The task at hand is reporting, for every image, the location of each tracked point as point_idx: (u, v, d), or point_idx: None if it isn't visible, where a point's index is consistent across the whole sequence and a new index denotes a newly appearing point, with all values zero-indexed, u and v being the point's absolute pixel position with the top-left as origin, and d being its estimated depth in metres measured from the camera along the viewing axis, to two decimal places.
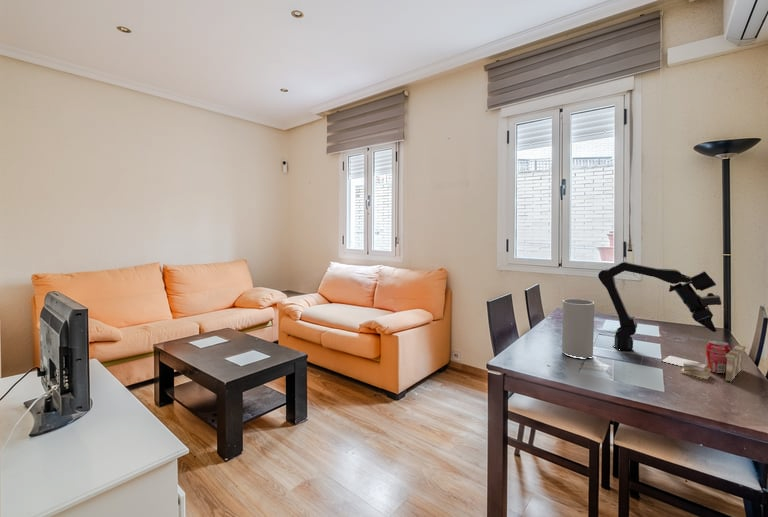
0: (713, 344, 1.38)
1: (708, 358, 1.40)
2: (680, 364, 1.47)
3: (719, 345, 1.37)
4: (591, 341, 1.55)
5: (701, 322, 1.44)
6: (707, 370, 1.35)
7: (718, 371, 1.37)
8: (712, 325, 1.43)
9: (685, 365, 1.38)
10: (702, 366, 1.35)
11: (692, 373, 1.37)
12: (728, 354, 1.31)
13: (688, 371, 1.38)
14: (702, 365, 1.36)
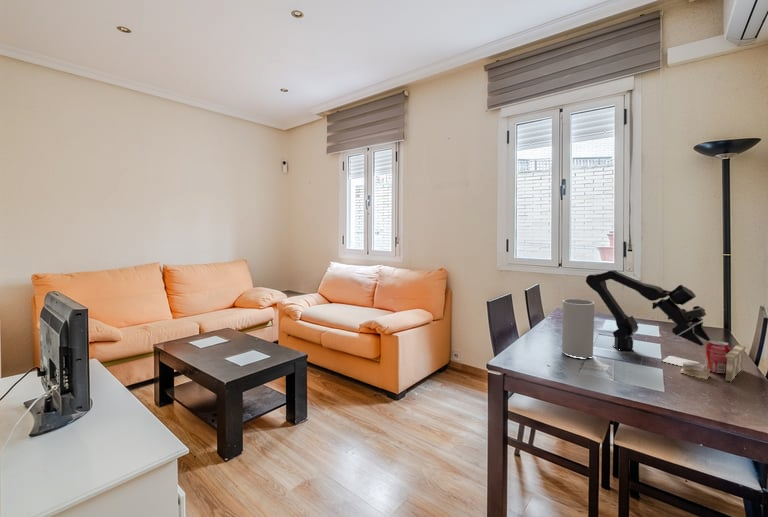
0: (713, 344, 1.38)
1: (708, 358, 1.40)
2: (680, 364, 1.47)
3: (719, 345, 1.37)
4: (591, 341, 1.55)
5: (684, 336, 1.43)
6: (706, 370, 1.35)
7: (718, 371, 1.37)
8: (696, 338, 1.40)
9: (684, 365, 1.38)
10: (701, 366, 1.35)
11: (691, 373, 1.36)
12: (728, 354, 1.31)
13: (687, 371, 1.38)
14: (701, 365, 1.36)
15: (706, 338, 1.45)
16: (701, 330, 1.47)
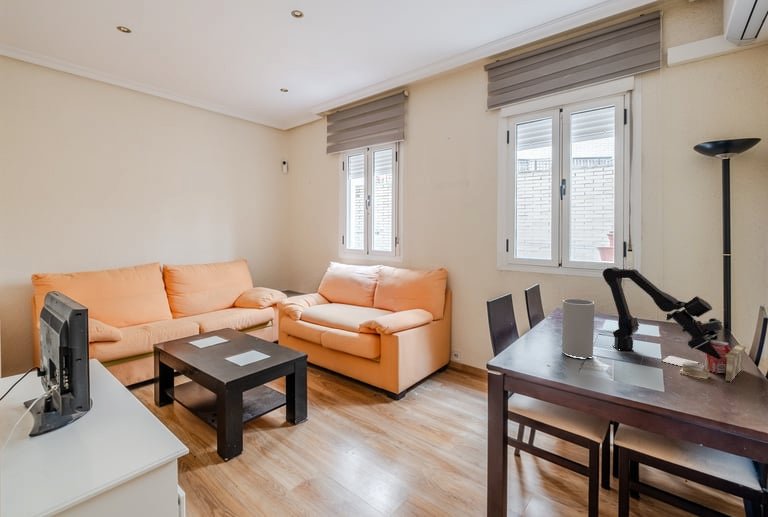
0: (713, 344, 1.38)
1: (708, 358, 1.40)
2: (680, 364, 1.47)
3: (719, 345, 1.37)
4: (591, 341, 1.55)
5: (701, 349, 1.39)
6: (706, 370, 1.35)
7: (718, 371, 1.37)
8: (714, 352, 1.37)
9: (684, 365, 1.38)
10: (701, 366, 1.35)
11: (691, 373, 1.36)
12: (728, 354, 1.31)
13: (687, 371, 1.37)
14: (701, 365, 1.36)
15: None
16: None
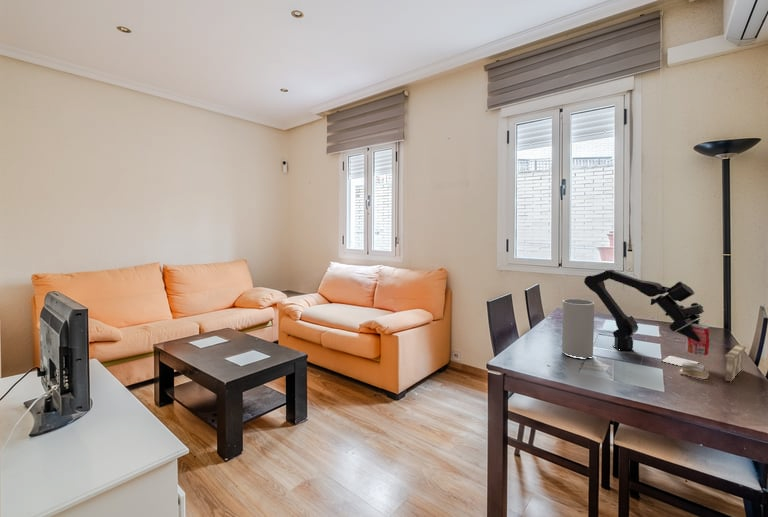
0: (694, 327, 1.43)
1: (688, 341, 1.44)
2: (680, 364, 1.47)
3: (699, 328, 1.41)
4: (591, 341, 1.55)
5: (682, 332, 1.44)
6: (705, 370, 1.35)
7: (698, 353, 1.42)
8: (694, 335, 1.41)
9: (684, 366, 1.38)
10: (701, 367, 1.35)
11: (691, 374, 1.36)
12: (728, 354, 1.31)
13: (687, 372, 1.37)
14: (700, 366, 1.36)
15: None
16: None
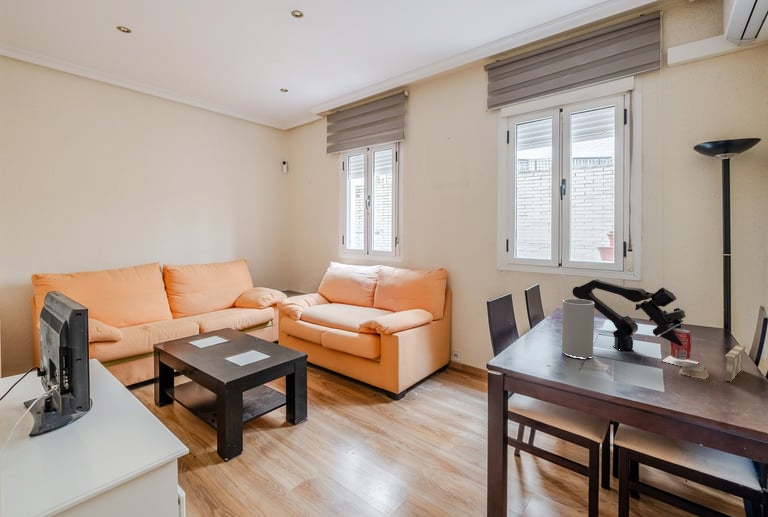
0: (676, 332, 1.48)
1: (671, 345, 1.49)
2: (680, 364, 1.47)
3: (681, 333, 1.46)
4: (591, 341, 1.55)
5: (665, 337, 1.49)
6: (705, 370, 1.35)
7: (680, 357, 1.47)
8: (676, 339, 1.46)
9: (683, 366, 1.37)
10: (700, 367, 1.35)
11: (690, 374, 1.36)
12: (728, 354, 1.31)
13: (686, 372, 1.37)
14: (700, 366, 1.36)
15: None
16: None
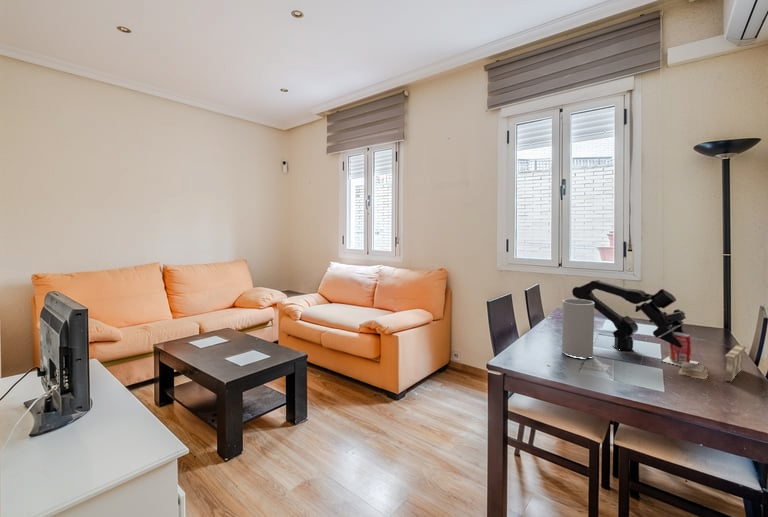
0: (675, 336, 1.48)
1: (671, 348, 1.50)
2: (680, 364, 1.47)
3: (681, 336, 1.47)
4: (591, 341, 1.55)
5: (665, 339, 1.48)
6: (705, 371, 1.34)
7: (680, 361, 1.47)
8: (676, 341, 1.46)
9: (683, 366, 1.37)
10: (700, 367, 1.34)
11: (690, 374, 1.36)
12: (728, 354, 1.31)
13: (686, 372, 1.37)
14: (699, 366, 1.35)
15: None
16: None
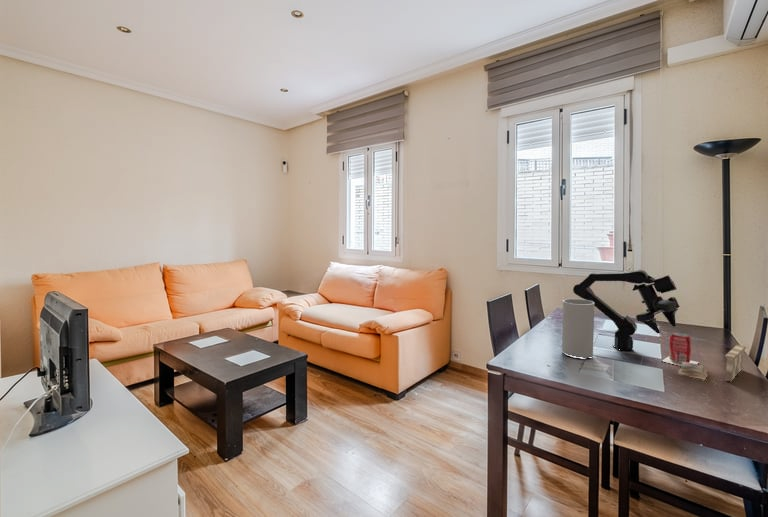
0: (675, 336, 1.48)
1: (671, 348, 1.50)
2: (680, 364, 1.47)
3: (680, 337, 1.47)
4: (591, 341, 1.55)
5: (646, 323, 1.57)
6: (704, 371, 1.34)
7: (680, 361, 1.47)
8: (655, 327, 1.54)
9: (683, 366, 1.37)
10: (700, 367, 1.34)
11: (690, 374, 1.36)
12: (728, 354, 1.31)
13: (686, 372, 1.37)
14: (699, 366, 1.35)
15: (672, 324, 1.57)
16: (671, 316, 1.57)
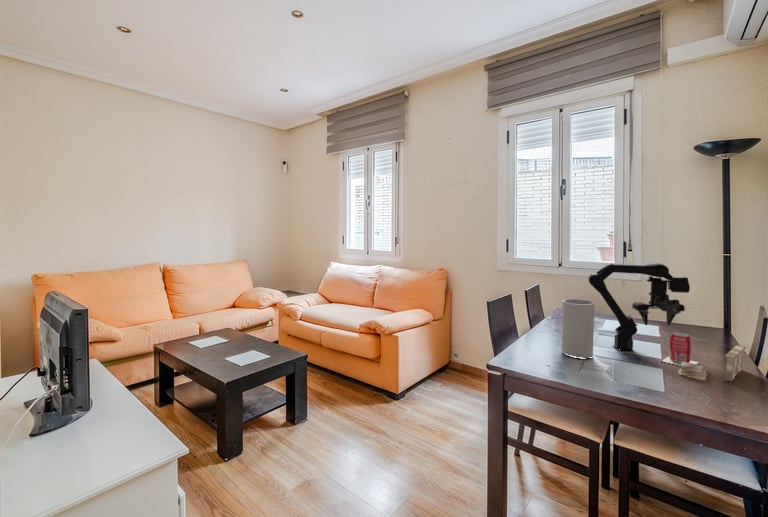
0: (675, 336, 1.48)
1: (671, 348, 1.50)
2: (680, 364, 1.47)
3: (680, 337, 1.47)
4: (591, 341, 1.55)
5: (640, 312, 1.63)
6: (704, 371, 1.34)
7: (680, 361, 1.47)
8: (644, 319, 1.60)
9: (682, 367, 1.37)
10: (699, 367, 1.34)
11: (689, 375, 1.35)
12: (728, 354, 1.31)
13: (685, 373, 1.36)
14: (698, 366, 1.35)
15: (667, 322, 1.60)
16: (670, 316, 1.58)
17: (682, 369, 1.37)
